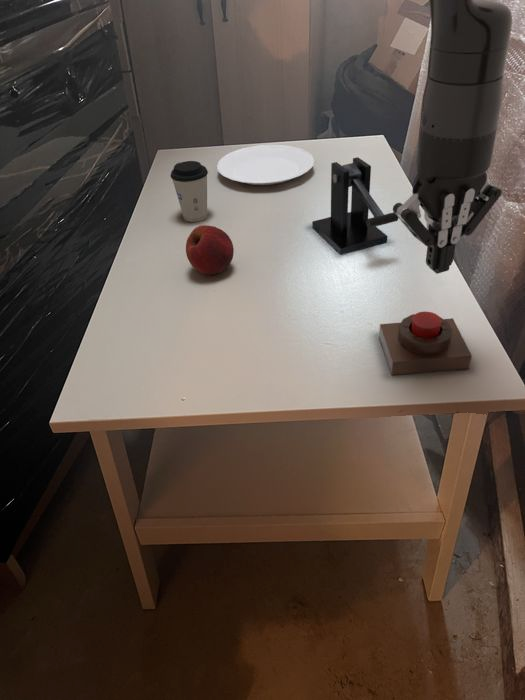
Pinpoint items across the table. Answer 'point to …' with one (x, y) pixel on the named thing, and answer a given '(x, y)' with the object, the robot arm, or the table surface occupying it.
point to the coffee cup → (191, 189)
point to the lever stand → (348, 213)
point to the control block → (423, 348)
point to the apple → (209, 249)
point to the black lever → (368, 199)
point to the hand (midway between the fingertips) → (438, 269)
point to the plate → (265, 164)
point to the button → (426, 325)
